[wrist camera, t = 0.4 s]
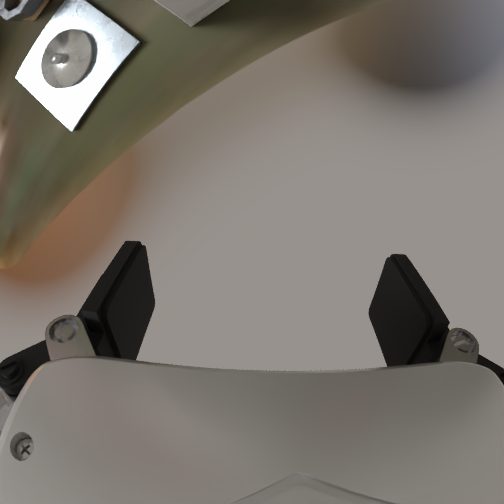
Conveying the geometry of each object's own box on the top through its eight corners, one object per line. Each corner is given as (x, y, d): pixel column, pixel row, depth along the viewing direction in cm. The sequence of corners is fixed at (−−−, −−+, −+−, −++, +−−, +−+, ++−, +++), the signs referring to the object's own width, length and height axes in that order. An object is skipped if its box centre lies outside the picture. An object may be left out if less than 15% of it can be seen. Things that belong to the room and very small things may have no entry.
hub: (75, -8, 24) (59, -13, 20) (141, 42, 30) (128, 39, 26) (19, 76, 30) (1, 79, 26) (75, 130, 36) (58, 137, 32)
